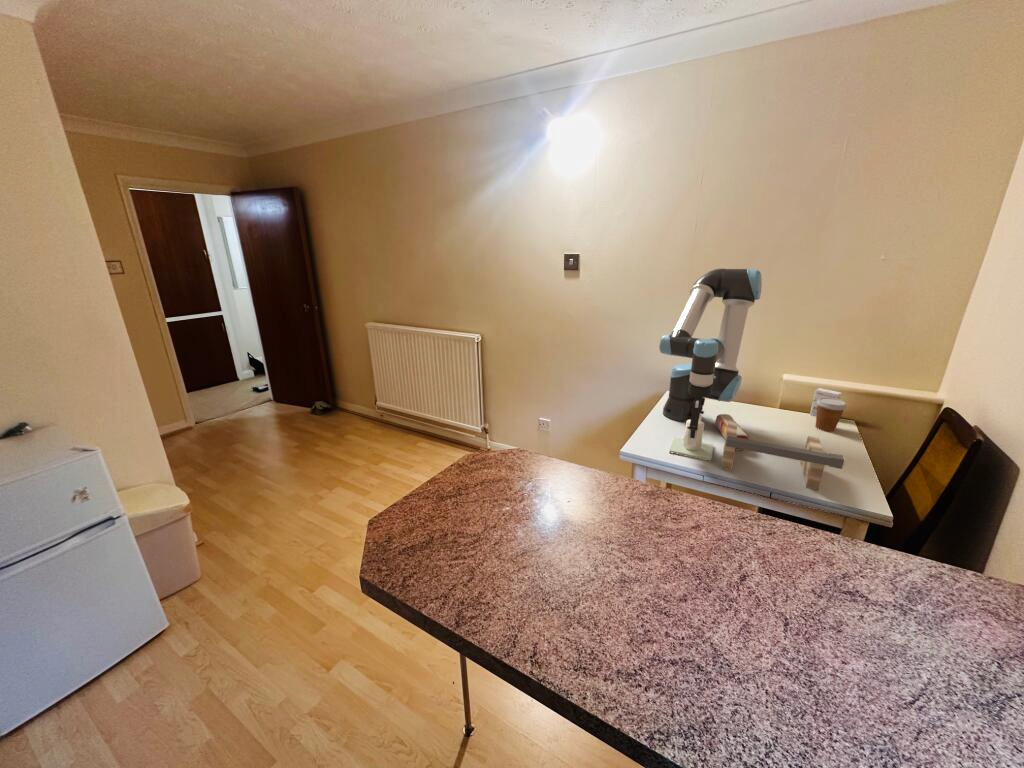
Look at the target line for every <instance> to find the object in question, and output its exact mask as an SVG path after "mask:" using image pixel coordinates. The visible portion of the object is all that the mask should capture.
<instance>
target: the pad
mask: <svg viewBox="0 0 1024 768" xmlns="http://www.w3.org/2000/svg"><path fill="white" fill-rule="evenodd" d="M683 444H684V438H681V437H676V436H674V437H673V440H672V443H671V445H670V448H669V452H673V453H678V454H682V455H681V456H683V455H686V456H685V457H688V456H691V457H690V458H692V457H695V458H694V459H697V458H699V459H698V460H702V459H704V460H703V461H707V460H709V461H708V462H711V461H712V457H713V451H714V446H715V444H713V443H707V442H704V441H702V443H701V449H700V450H699V451H691V450H687V449H685V448H684V447H683ZM673 453H672V454H673ZM678 454H677V455H678Z"/></svg>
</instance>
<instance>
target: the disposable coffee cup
mask: <svg viewBox="0 0 1024 768" xmlns="http://www.w3.org/2000/svg"><path fill="white" fill-rule="evenodd" d="M846 409H847V404H846V402H845V401H843V400H842V399H840V400H839V399H835V398H828V397H822V398H819V399H818V401H817V416H815V428H816V427H817V428H816V429H818V428H819V429H818V430H820V429H821V430H820V431H823V430H824V432H829V431H832V432H834V430H836V428H837V426H838V424H839V422H840V419H841V417H842V415H843V413H844V410H846Z"/></svg>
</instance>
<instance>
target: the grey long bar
mask: <svg viewBox="0 0 1024 768" xmlns="http://www.w3.org/2000/svg"><path fill="white" fill-rule="evenodd" d="M726 446H727V447H733V448H738V449H743V450H742V451H744V450H745V451H749V452H755V453H760V454H765V455H770V456H775V457H781V458H786V459H791V460H796V461H797V460H798V461H801V462H802V461H806V462H812V463H817V464H822V465H825V466H828V467H830V468H834V469H840V470H842V469H843V465H844V462H845V458H844V456H843V454H838V453H832V452H829V453H828V452H824V453H823V452H817V451H812V450H806V449H805V448H800V447H794V446H790V445H789V446H788V445H785V444H784V445H782V444H777V443H772V442H767V441H761V440H760V441H759V440H754V439H750V438H749V439H744V438H739V437H733V436H727V440H726Z"/></svg>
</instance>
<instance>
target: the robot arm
mask: <svg viewBox="0 0 1024 768" xmlns="http://www.w3.org/2000/svg"><path fill="white" fill-rule="evenodd" d="M762 283H763V279H762V272H761V271H760V270H759V269H752V268H716V269H713V270H712V269H711V270H710V271H708V272H706V273H705V274H703V275H702V276H700V277H699V278H698V279H697V280H696V281H695V282H694V283H693V285H692V286H691V288H690V289H689V298H687V299H688V300H687V302H686V303H685V305H684V307H683V309H682V312H681V313H680V315H679V317H678V319H677V322H676V323H675V326H674V327H673V329H672V331H671V333H670V334H663V336H661V338H660V341H659V346H658V347H659V352H660V353H661V354H664V355H668V356H674V357H683V358H688V359H691V363H680V364H677V365H674V366H673V367H672V369H671V374H670V382H669V390H668V397H667V400H666V402H665V403H664V405H663V408H662V414H663V416H664V417H666V418H667V419H670V420H672V421H678V422H686V421H687V420H690V419H691V421H690V427H688V426H687V429H689V434H688V442H687V445H691V446H696V439H697V432H698V422H699V421H702V415H704V413H705V410H703V408H704V406H705V402H706V399H707V400H713V401H718V402H724V403H730V402H733V400H734V399H735V397H736V396H737V394H738V391H739V389H740V387H741V383H742V378H743V377H742V375H740V374H739V373H740V370H739V369H738V368H737V362H738V357H739V353H740V349H741V348H740V347H741V346H742V345H741V343H742V339H743V335H744V330H745V325H746V321H747V317H748V313H749V308H751V307H753V306H754V305H755V301H758V300H760V298H761V296H762V295H761V294H762ZM714 298H721V299H722V300H721V302H722V303H723V305H724V310H723V314H722V318H721V322H720V323H721V324H720V328H719V333H718V336H717V337H714V338H713V337H712V338H698V337H693V336H694V333H695V331H696V329H697V327H698V325H699V323H700V321H701V318H702V316H703V314H704V312H705V310H706V308H707V306H708V304H709V303H710V302H711V301H713V299H714Z"/></svg>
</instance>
